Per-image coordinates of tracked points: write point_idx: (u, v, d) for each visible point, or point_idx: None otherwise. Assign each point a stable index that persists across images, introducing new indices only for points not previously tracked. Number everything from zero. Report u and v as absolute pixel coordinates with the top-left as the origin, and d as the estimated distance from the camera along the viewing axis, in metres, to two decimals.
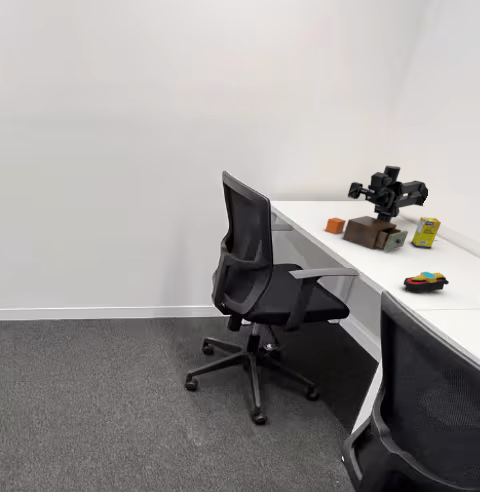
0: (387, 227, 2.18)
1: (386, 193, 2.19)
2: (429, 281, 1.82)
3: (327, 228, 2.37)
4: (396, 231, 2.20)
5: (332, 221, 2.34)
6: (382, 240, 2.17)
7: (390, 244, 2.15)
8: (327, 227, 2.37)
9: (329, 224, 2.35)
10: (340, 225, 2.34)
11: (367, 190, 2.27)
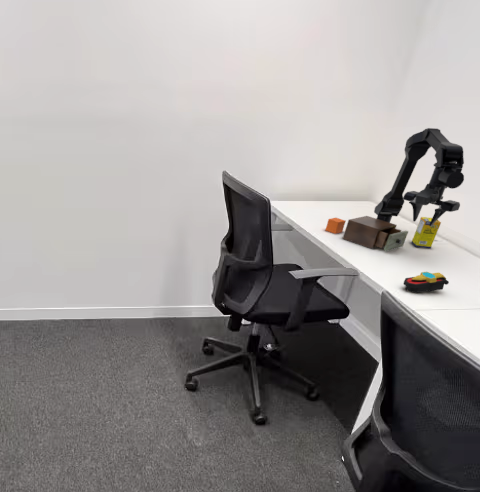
0: (387, 227, 2.18)
1: (441, 211, 2.01)
2: (429, 281, 1.82)
3: (327, 228, 2.37)
4: (396, 231, 2.20)
5: (332, 221, 2.34)
6: (382, 240, 2.17)
7: (390, 244, 2.15)
8: (327, 227, 2.37)
9: (329, 224, 2.35)
10: (340, 225, 2.34)
11: None
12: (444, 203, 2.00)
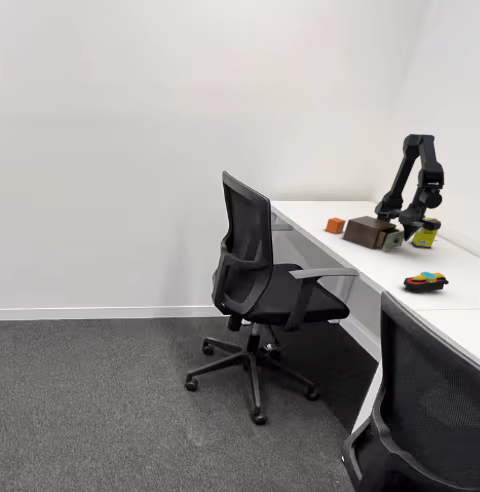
0: (387, 227, 2.18)
1: (415, 228, 2.11)
2: (429, 281, 1.82)
3: (327, 228, 2.37)
4: (394, 231, 2.21)
5: (332, 221, 2.34)
6: (380, 239, 2.17)
7: (388, 243, 2.15)
8: (327, 227, 2.37)
9: (329, 224, 2.35)
10: (340, 225, 2.34)
11: None
12: (426, 222, 2.07)
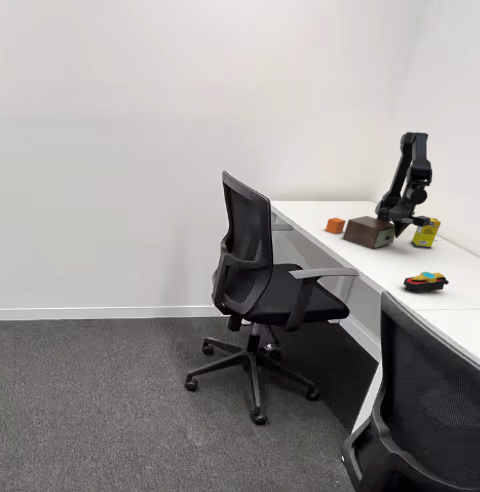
0: (387, 227, 2.18)
1: (405, 224, 2.14)
2: (429, 281, 1.82)
3: (327, 228, 2.37)
4: None
5: (332, 221, 2.34)
6: None
7: (380, 241, 2.18)
8: (327, 227, 2.37)
9: (329, 224, 2.35)
10: (340, 225, 2.34)
11: None
12: (415, 219, 2.10)
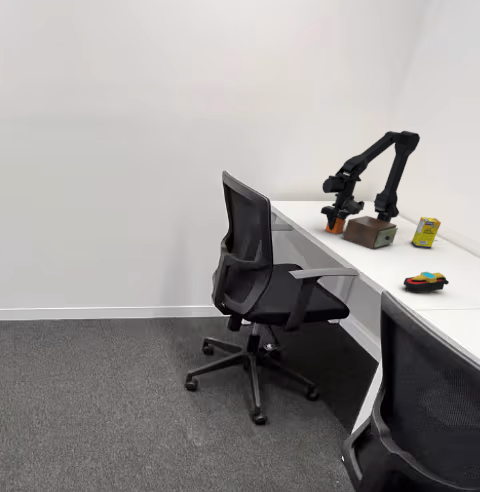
0: (387, 227, 2.18)
1: None
2: (429, 281, 1.82)
3: (327, 228, 2.37)
4: None
5: None
6: None
7: (380, 241, 2.18)
8: (327, 227, 2.37)
9: None
10: (340, 225, 2.34)
11: None
12: None
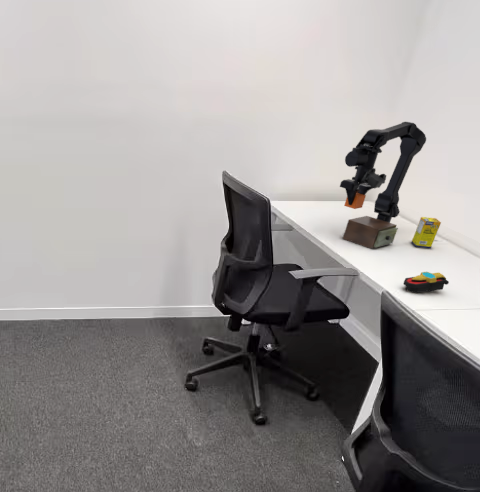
0: (387, 227, 2.18)
1: (372, 188, 2.24)
2: (429, 281, 1.82)
3: (346, 203, 2.27)
4: None
5: None
6: None
7: (380, 241, 2.18)
8: (346, 202, 2.27)
9: None
10: (360, 200, 2.24)
11: (363, 183, 2.21)
12: None
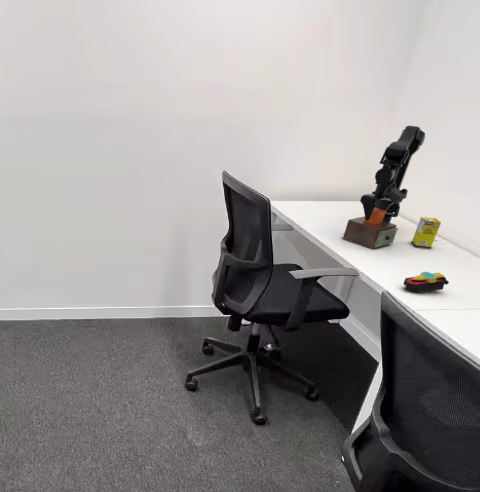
0: (387, 227, 2.18)
1: None
2: (429, 281, 1.82)
3: None
4: None
5: None
6: None
7: (380, 241, 2.18)
8: None
9: None
10: (380, 216, 2.20)
11: None
12: None
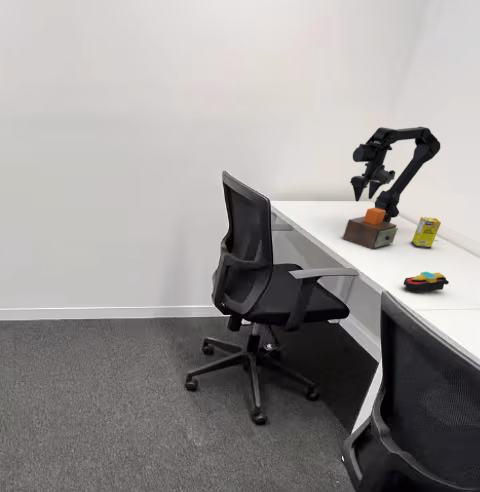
0: (387, 227, 2.18)
1: None
2: (429, 281, 1.82)
3: (366, 219, 2.23)
4: None
5: (371, 211, 2.20)
6: None
7: (380, 241, 2.18)
8: (366, 218, 2.22)
9: (368, 214, 2.21)
10: (380, 216, 2.20)
11: (370, 180, 2.26)
12: None
